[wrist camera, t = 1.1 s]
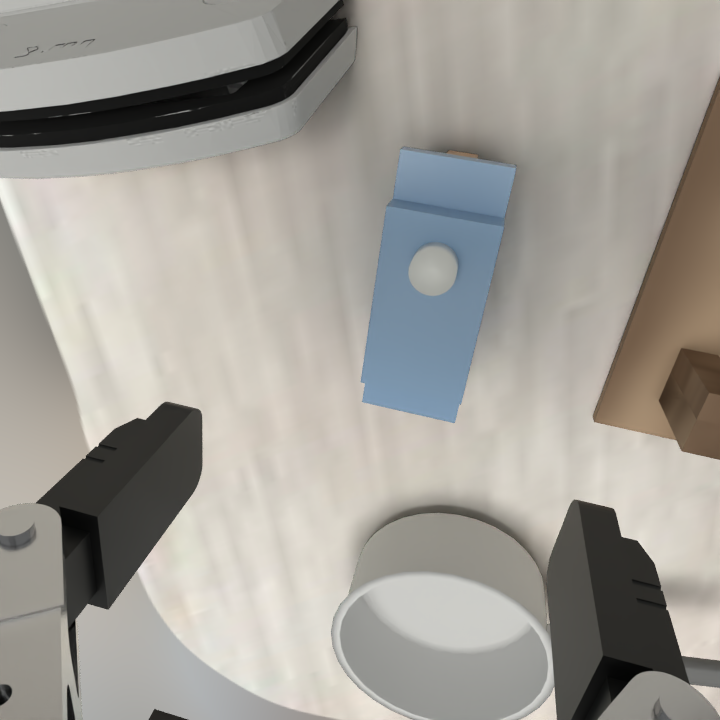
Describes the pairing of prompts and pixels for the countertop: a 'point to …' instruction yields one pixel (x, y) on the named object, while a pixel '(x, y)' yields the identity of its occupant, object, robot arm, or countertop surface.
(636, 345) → the cradle
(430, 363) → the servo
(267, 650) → the countertop surface
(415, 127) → the countertop surface
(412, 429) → the countertop surface
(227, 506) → the countertop surface
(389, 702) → the saucepan
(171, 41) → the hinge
